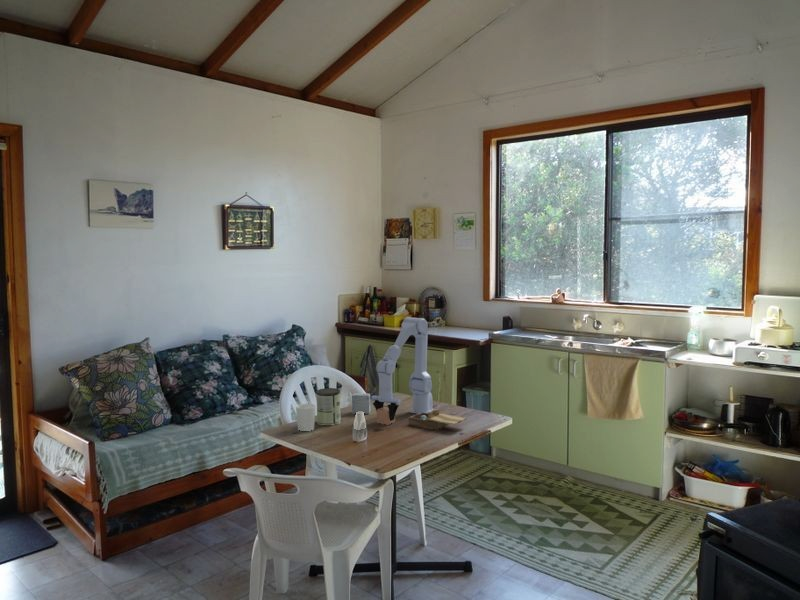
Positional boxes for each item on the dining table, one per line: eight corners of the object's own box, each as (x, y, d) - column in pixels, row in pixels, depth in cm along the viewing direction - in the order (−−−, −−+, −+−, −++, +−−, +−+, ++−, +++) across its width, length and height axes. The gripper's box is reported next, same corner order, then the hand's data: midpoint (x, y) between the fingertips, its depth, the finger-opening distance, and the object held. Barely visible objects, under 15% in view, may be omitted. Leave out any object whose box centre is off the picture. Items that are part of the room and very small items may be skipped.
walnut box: (421, 419, 271) (421, 412, 271) (449, 424, 263) (449, 416, 263) (408, 424, 263) (408, 417, 263) (436, 430, 255) (436, 422, 254)
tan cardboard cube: (384, 420, 270) (384, 406, 270) (395, 422, 267) (395, 408, 267) (377, 423, 266) (376, 409, 265) (387, 425, 263) (387, 411, 262)
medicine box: (370, 411, 285) (370, 393, 284) (369, 414, 280) (368, 395, 279) (353, 411, 285) (353, 393, 285) (352, 414, 281) (351, 395, 280)
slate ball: (422, 420, 269) (422, 413, 269) (428, 421, 267) (428, 414, 267) (418, 422, 266) (418, 415, 266) (424, 423, 265) (424, 416, 264)
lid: (438, 414, 266) (438, 407, 265) (466, 419, 258) (466, 412, 257) (425, 419, 258) (425, 412, 257) (454, 425, 249) (454, 417, 249)
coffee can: (318, 419, 273) (317, 388, 271) (341, 419, 273) (340, 387, 272) (315, 426, 262) (314, 393, 261) (340, 425, 263) (339, 393, 262)
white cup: (319, 429, 258) (318, 405, 257) (304, 433, 252) (303, 409, 251) (307, 425, 263) (307, 402, 262) (292, 429, 258) (292, 406, 257)
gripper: (366, 387, 266) (367, 418, 267) (394, 391, 258) (394, 423, 259) (376, 384, 272) (377, 414, 273) (403, 388, 264) (404, 419, 265)
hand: (386, 418), depth 266 cm, fingers closed on tan cardboard cube, 6 cm apart
